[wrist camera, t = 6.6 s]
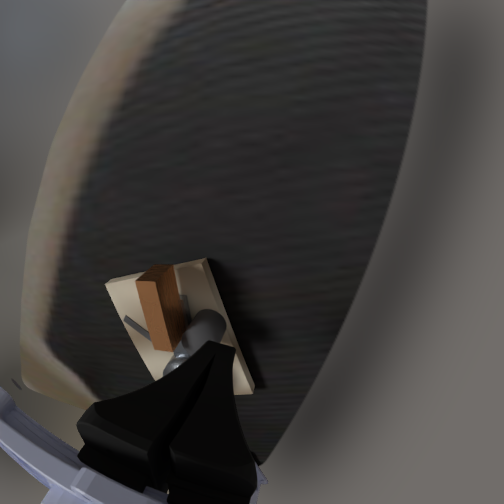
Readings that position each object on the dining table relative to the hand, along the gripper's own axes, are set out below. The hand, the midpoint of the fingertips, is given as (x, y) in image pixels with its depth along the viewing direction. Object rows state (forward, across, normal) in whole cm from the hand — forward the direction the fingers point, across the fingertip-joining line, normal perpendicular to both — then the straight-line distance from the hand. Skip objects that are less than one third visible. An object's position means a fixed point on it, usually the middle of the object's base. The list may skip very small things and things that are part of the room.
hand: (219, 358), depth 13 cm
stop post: (+7, +2, +3) cm, 8 cm away
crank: (+6, +4, +4) cm, 9 cm away
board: (+7, +5, +6) cm, 11 cm away
